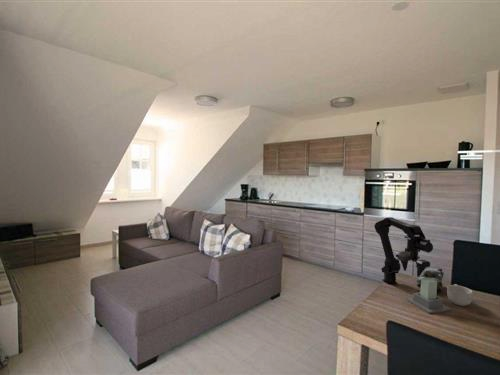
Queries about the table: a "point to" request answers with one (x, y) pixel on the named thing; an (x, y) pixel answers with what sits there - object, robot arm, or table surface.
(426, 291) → the sage block
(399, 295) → the table surface
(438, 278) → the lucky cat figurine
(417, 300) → the grey square socket base
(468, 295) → the teacup
